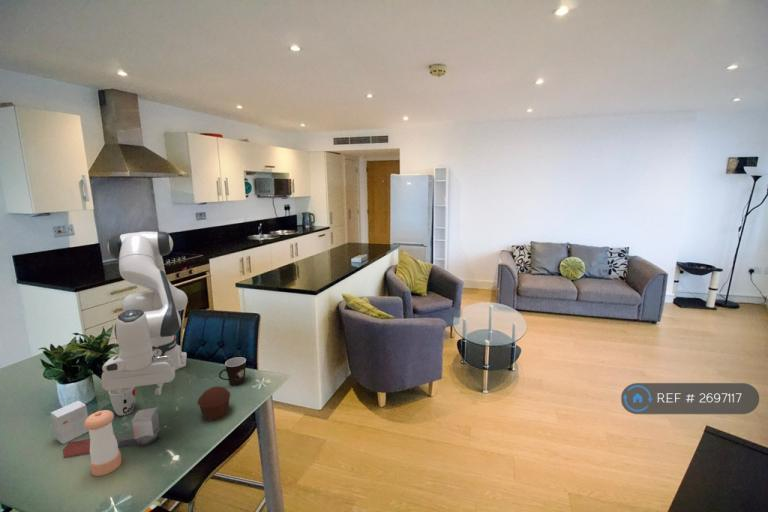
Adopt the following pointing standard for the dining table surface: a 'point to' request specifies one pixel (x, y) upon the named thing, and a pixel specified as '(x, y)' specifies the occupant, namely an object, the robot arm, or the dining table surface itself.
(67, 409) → the small box
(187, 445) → the dining table surface
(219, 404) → the muffin
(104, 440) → the pepper shaker
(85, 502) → the dining table surface
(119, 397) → the cup
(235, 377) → the coffee mug
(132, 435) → the ratchet
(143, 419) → the light grey cube
